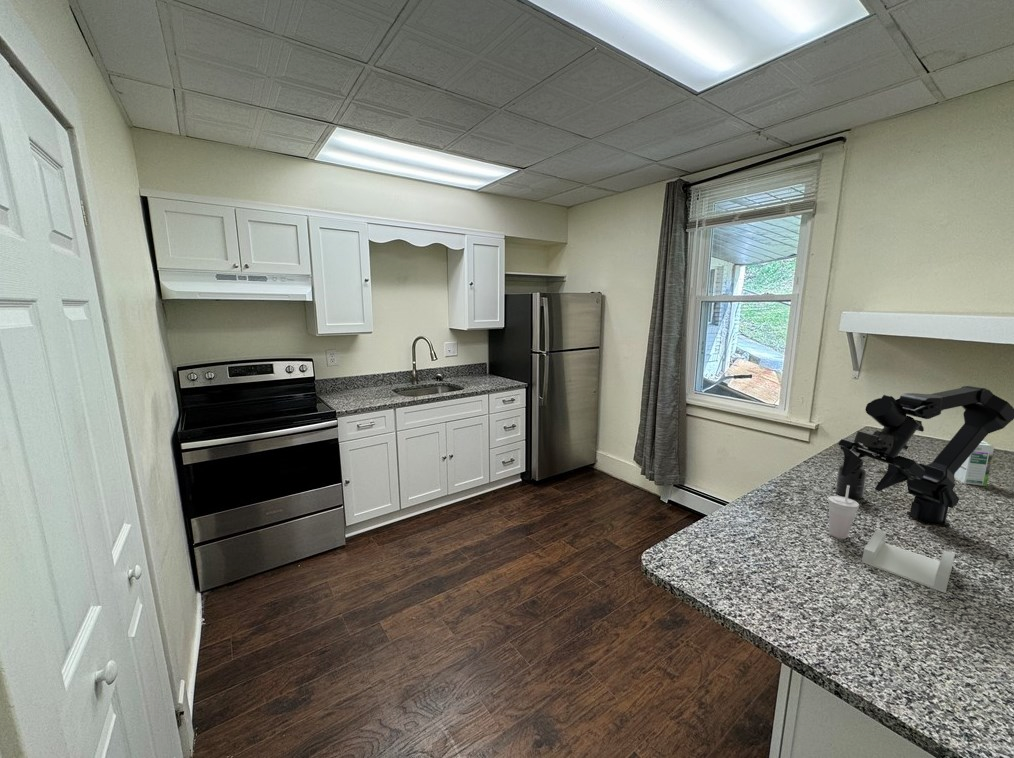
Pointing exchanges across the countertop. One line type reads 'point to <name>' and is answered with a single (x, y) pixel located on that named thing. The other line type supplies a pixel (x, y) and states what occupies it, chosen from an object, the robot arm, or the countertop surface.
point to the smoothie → (841, 514)
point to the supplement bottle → (852, 482)
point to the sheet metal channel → (908, 563)
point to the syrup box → (976, 466)
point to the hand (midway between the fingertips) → (859, 482)
